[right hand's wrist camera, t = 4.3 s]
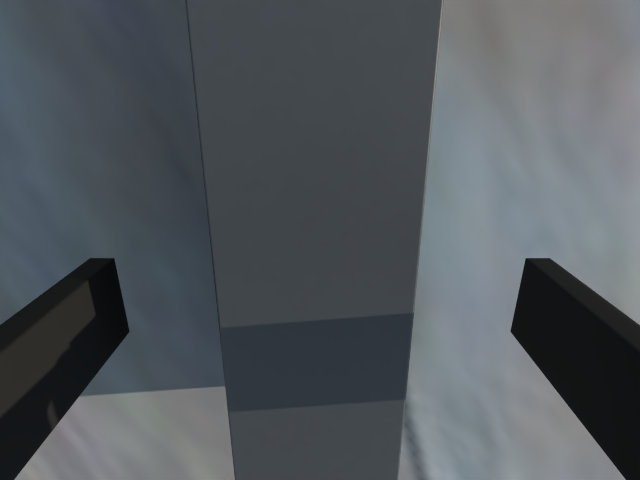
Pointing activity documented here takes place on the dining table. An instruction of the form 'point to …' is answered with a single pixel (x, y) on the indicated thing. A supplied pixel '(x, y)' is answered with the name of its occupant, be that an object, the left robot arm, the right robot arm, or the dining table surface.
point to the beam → (315, 221)
